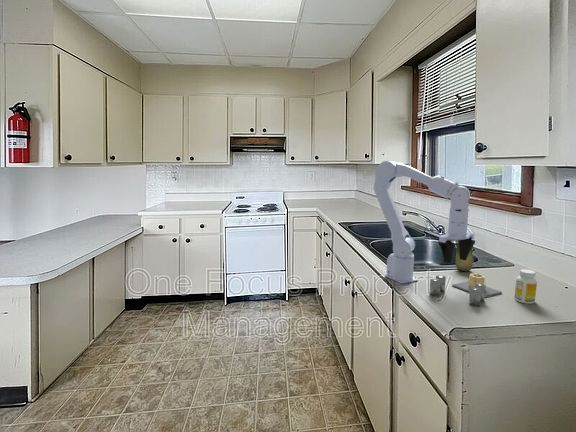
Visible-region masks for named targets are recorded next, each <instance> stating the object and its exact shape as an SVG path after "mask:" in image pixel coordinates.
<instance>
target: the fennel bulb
mask: <svg viewBox="0 0 576 432" xmlns="http://www.w3.org/2000/svg"><path fill="white" fill-rule="evenodd" d="M473 248H474V245H473V246H472V248H471V250H470V252H469V254H468V257H467V260H461V259H460V249H459V243H458V241H456V253H455V268H456V269H457V270H459V271H461V272H470V271H471V270H472V269H473V266H474V256H473V250H474V249H473Z"/></svg>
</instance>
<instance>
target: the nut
mask: <svg viewBox="0 0 576 432" xmlns="http://www.w3.org/2000/svg"><path fill="white" fill-rule="evenodd" d="M468 279H469V280H468V281H469V288H471V287H475V284H476V283H481V284H484V285H486V282H485V281H486V275H484V274H482V273H481V274H480V273H470V274H469V278H468Z"/></svg>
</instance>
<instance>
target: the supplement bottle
mask: <svg viewBox="0 0 576 432" xmlns="http://www.w3.org/2000/svg"><path fill="white" fill-rule="evenodd" d="M535 277H536V271H533V270H532V269H520V270H519V275H518V276H517V277H516V278H515V280H516V281H515V290H514V297H513V298H514V300H515V301H517V302H519V303H522V304H528V305H529V304H531V305H532V304H534V303H535V301H536V294H537V286H538V285H537V284H538V280H537V279H536V278H535Z"/></svg>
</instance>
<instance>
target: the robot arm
mask: <svg viewBox="0 0 576 432" xmlns="http://www.w3.org/2000/svg"><path fill="white" fill-rule="evenodd" d="M374 173H375V174H374V175H375V176H374V182H373V183H374V184H373V190H374V193H375V196H376V198H377V200H378V204H379V206H380V208H381V211H382V214H383V215H384V218H385V221H386V224H387V226H388V229H389V230H390V233H391V235H390V236H391V237H390V238H391V242H392V252H393V253H390V254H389V255H388V257H387V258H386V274H384V277H386V278H388V279H390V280H392V281H395V282H398V283H400V284H408V283H412V282H417V281H419V278H417V277H414V265H415V263H414V262H415V255H414V253H413V251H414V249H415V247H416V242H415V240H414V238H412V236H411V235H410V234H409V231H408V230H407V229H406V228H405V226H404V223H403V220H402V218H401V215H400V213H399V210H398V209H397V206H396V203H395V201H394V199H393V196H392V194H391V191H390V188H391V185H392V184H393V181H395V179H396V178H398V177H403V178H404V177H406V178H409V179H412V180H414V181H415V182H419V183H421V184H423V185H426V186H427V187H428V190H429V191H430V192H432V193H433V194H436V195H438V196H440V197H443V198H444V199H450V208H449V213H448V214H449V218H448V229H447V233H446V234H443V235H439V240H438V241H437V243H438V246H439V248H440V249H441V252H442V256H443V257H442V258H443V261H444V262H445V263H447V264H451V263H452V258H453V252H454V250H455V247H456V246H457V243H452V242H454V241H455V242H458V243H459V249H460V259H461V260H467V257H468V254H469V252H470V250H471V248H472V246H473V247H474V245H475V244H476V240H474V239H475V233H474V232H468V223H469V212H470V211H469V205H470V203H469V200H470V197H471V192H470V190H469V189H468V188H467V187H466V186H464V185H461V184H460V183H459V182H453V181H451V180H449V179H446V176H444V175H441V176H440V175H435V176H430V175H429V174H426V173H425V172H422V171H420V170H418V169H416V168H414V167H412V166H409V165H407V164H404V163H401V162H400V163H399V162H397V161H394V160H391V161H389V160H384V161H381V162H380V163H379V164H378V166H377V168H376V169H375V172H374ZM459 184H460V185H459Z"/></svg>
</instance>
